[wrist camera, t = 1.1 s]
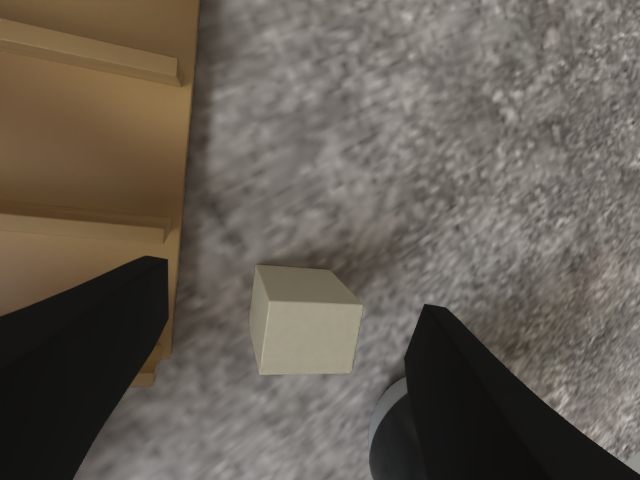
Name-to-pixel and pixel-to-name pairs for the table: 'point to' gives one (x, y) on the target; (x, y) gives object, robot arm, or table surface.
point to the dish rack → (93, 144)
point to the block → (303, 321)
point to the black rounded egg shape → (394, 438)
